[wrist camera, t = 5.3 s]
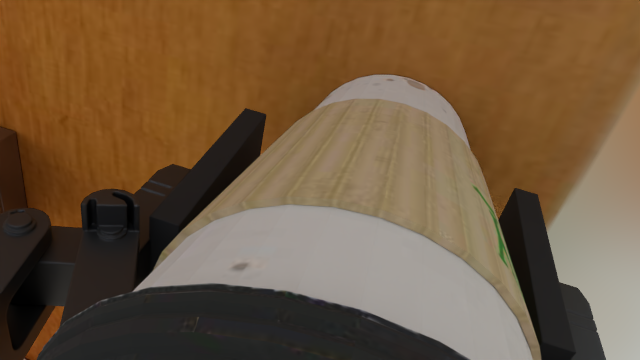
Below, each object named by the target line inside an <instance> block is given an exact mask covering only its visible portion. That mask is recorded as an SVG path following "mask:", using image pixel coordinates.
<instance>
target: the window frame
mask: <svg viewBox="0 0 640 360" xmlns="http://www.w3.org/2000/svg"><path fill="white" fill-rule="evenodd" d="M17 208H27V203H26V197H25V190H24V184H23V177H22V171H21V164H20V158H19V151H18V145H17V138H16V132H15V131H12V130H8V129H5V128H2V127H0V214H1V213H3V212H6V211H8V210H12V209H17Z"/></svg>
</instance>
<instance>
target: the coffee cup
mask: <svg viewBox="0 0 640 360" xmlns="http://www.w3.org/2000/svg"><path fill="white" fill-rule="evenodd" d="M37 360H541V353H540V346H539V343H538V340H537V337H536V334H535V331H534V328H533V325H532V322H531V319H530V316H529V313H528V310H527V307H526V303H525V300H524V297H523V294H522V291H521V288H520V285H519V282H518V279H517V276H516V273H515V270H514V267H513V264H512V261H511V258H510V255H509V252H508V249H507V245H506V242H505V239H504V236H503V233H502V230H501V227H500V224H499V221H498V218H497V215H496V212H495V209H494V206H493V203H492V200H491V197H490V194H489V190H488V187H487V184H486V181H485V178H484V176H483V173H482V171H481V168H480V166H479V163H478V161H477V159H476V158H475V156H474V155H473V153H472V152H471V150H470V146H469V143H468V140H467V136H466V133H465V130H464V128H463V125H462V123H461V120H460V118H459V116H458V115H457V113H456V112H455V110H454V109H453V107H452V106H451V105H450V104H449V103H448V102H447V101H446V100H445V99H444V98H443V97H442V96H441V95H440V94H439V93H438V92H436V91H434V90H433V89H431V88H430V87H428V86H427V85H425V84H423V83H420V82H418V81H415V80H413V79H410V78H406V77H401V76H396V75H371V76H366V77H361V78H357V79H355V80H352V81H350V82H348V83H345V84H343V85H342V86H340V87H339V88H337V89H336V90H334V91H333V92H331V93H330V94H329V95H328V96H327V97H326V98H325V99H324V100H323V101H322V102H321V103H320V104H319V105H318V106H317V107H316V108H315V109H314V110H313V111H311V112H310V113H308V114H307V115H305V116H304V117H302V118H301V119H299V120H298V121H296V122H295V123H294V124H293V125H292V126H291V127H290V128H289V129H288V130H287V131H286V132H285V133H284V134H282V135H281V136H280V137H279V138H278V139H277V140H276V141H275V142H274V143H273V144H272V145H271V146H270V147H269V148H268V149H267V150H266V151H265V152H264V153H263V154H262V155H260V156H259V157H258V158H257V159H256V160H255V161H254V162H253V163H252V164H251V165H250V166H249V167H248V168H247V169H246V170H245V171H244V172H243V173H242V174H241V175H240V176H238V177H237V178H236V179H235V180H234V181H233V182H232V183H231V184H230V185H229V186H228V187H227V188H226V189H225V190H224V191H223V192H222V193H221V194H220V195H219V196H218V197H217V198H215V199H214V200H213V201H212V202H211V203H210V204H209V205H208V206H207V207H206V208H205V209H204V210H203V211H202V212H201V213H200V214H199V215H198V216H197V217H196V218H195V219H193V220H192V221H191V222H190V223H189V224H188V225H187V226H186V227H185V228H184V229H183V230H182V231H181V232H180V233H179V234H178V235H177V236H176V237H175V239H174V240H173V241H172V242H171V243H170V244H169V245H168V246H167V247H166V248H165V249H164V250H163V251H162V253H161V255H160V257H159V259H158V261H157V263H156V265H155V267H154V269H153V271H152V273H151V274H150V275H149V276H148V277H147V278H146V279H145V280H144V281H143V282H142V283H141V284H140V285H139V286H138V287H137V288H136V289H135V290H134V291H133V292H130V293H127V294H123V295H119V296H116V297H112V298H108V299H105V300H101V301H99V302H97V303H96V304H94V305H92V306H91V307H89V308H87V309H86V310H84V311H82V312H80V313H79V314H77V315H75V316H74V317H72V318H70V319H68V320H67V321H65V322H64V323H63V325H62V326H61V327H60V328H59V329H58V331H57V332H56V333H55V334H54V335H53V336H52V338H51V339H50V340H49V341H48V342H47V343H46V345H45V346H44V347H43V350H42V351H41V352H40V354H39V355H38V358H37Z"/></svg>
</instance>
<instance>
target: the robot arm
mask: <svg viewBox="0 0 640 360" xmlns="http://www.w3.org/2000/svg"><path fill="white" fill-rule="evenodd" d="M265 120H266V114H263V113H260V112H257V111H253V110H250V109H246V108H245V110H244V111H243V112H242V113H241V114H240V115H239V116H238V117H237V119H236V120H235V121H234V122H233V123H232V124H231V125H230V126H229V128H228V129H227V130H226V131H225V132H224V133H223V134H222V135H221V137H220V138H219V139H218V140H217V141H216V142H215V143H214V144H213V145H212V147H211V148H210V149H209V150H208V151H207V152H206V153H205V154H204V156H203V157H202V158H201V159H200V160H199V161H198V162H197V163H196V165H195V166H194V167H193V168H192V169H187V168H184V167H181V166H178V165H174V164H172V165H169V166H167V167H165V168H162V169H160V170H158V171H157V172H156V173H155V174H154V175H153V176H152V177H151V178H150V179H149V181H148V182H146V183H145V184H144V185H143V186H142V187H141V189H139V190H138V191H137V192H136V193H135V194H134V195H133V194H131V193H129V192H127V191H125V190H118V189H104V190H100V191H97V192H93V193H91V194H90V195H88V196H87V197H85V198H84V200H83V202H82V203H81V215H82V227H83V228H74V227H60V226H51V222H50V219H49V216H48V215H47V214H45V213H44V212H43V211H40V210H37V209H34V208H17V209H12V210H8V211H6V212H3V213H1V214H0V360H24V358H25V356H26V355H27V353H28V351H29V350H30V348H31V346H32V345H33V343H34V341H35V340H36V338H37V336H38V335H39V333H40V331H41V330H42V328H43V326H44V325H45V323H46V321H47V320H48V318H49V316H50V315H51V313H52V311H53V310H54V308H55V306H65V307H64V311H63V315H62V319H61V324H60V327H61V326H62V325H63V323H64V322H65V321H67V320H68V319H70V318H72V317H74V316H75V315H77V314H79V313H80V312H82V311H84V310H86V309H87V308H89V307H91V306H92V305H94V304H96V303H97V302H99V301H101V300H105V299H108V298H112V297H116V296H119V295H123V294H127V293H130V292H133V291H134V290H135V289H136V288H137V287H138V286H139V285H140V284H141V283H142V282H143V281H144V280H145V279H146V278H147V277H148V276H149V275H150V274H151V273H152V271H153V269H154V267H155V265H156V263H157V261H158V259H159V257H160V255H161V253H162V251H163V250H164V249H165V248H166V247H167V246H168V245H169V244H170V243H171V242H172V241H173V240H174V239H175V237H176V236H177V235H178V234H179V233H180V232H181V231H182V230H183V229H184V228H185V227H186V226H187V225H188V224H189V223H190V222H191V221H192V220H193V219H195V218H196V217H197V216H198V215H199V214H200V213H201V212H202V211H203V210H204V209H205V208H206V207H207V206H208V205H209V204H210V203H211V202H212V201H213V200H214V199H215V198H217V197H218V196H219V195H220V194H221V193H222V192H223V191H224V190H225V189H226V188H227V187H228V186H229V185H230V184H231V183H232V182H233V181H234V180H235V179H236V178H237V177H238V176H240V175H241V174H242V173H243V172H244V171H245V170H246V169H247V168H248V167H249V166H250V165H251V164H252V163H253V162H254V161H255V160H256V159H257V158H258V157H259V156H260V151H261V145H262V139H263V132H264V126H265ZM498 221H499V224H500V227H501V230H502V233H503V236H504V239H505V242H506V245H507V249H508V252H509V255H510V258H511V261H512V264H513V267H514V270H515V273H516V276H517V279H518V282H519V285H520V288H521V291H522V294H523V297H524V300H525V303H526V307H527V310H528V313H529V316H530V319H531V322H532V325H533V328H534V331H535V334H536V337H537V340H538V343H539V346H540V353H541V360H606V358H605V355H604V351H603V348H602V345H601V342H600V338H599V335H598V333H597V332H596V331H597V328H596V325H595V322H594V321H593V315H592V312H591V308H590V305H589V303H588V301H587V300H586V298H585V297H584V296H583V294H582V293H581V292H580V290H579V289H578V288H576V287H573V286H570V285H566V284H563V283H560V282H559V280H558V276H557V272H556V268H555V264H554V260H553V256H552V252H551V248H550V243H549V239H548V235H547V231H546V227H545V223H544V219H543V215H542V211H541V207H540V202H539V198H538V195H537V194H534V193H531V192H527V191H524V190H520V189H517V188H515V189H514V191H513V193H512V195H511V196H510V198H509V200H508V202H507V204H506V206H505V208H504V210H503V212H502V214H501V216H500V218H499V220H498Z"/></svg>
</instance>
